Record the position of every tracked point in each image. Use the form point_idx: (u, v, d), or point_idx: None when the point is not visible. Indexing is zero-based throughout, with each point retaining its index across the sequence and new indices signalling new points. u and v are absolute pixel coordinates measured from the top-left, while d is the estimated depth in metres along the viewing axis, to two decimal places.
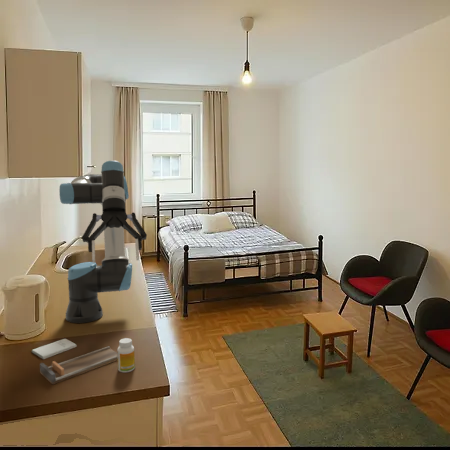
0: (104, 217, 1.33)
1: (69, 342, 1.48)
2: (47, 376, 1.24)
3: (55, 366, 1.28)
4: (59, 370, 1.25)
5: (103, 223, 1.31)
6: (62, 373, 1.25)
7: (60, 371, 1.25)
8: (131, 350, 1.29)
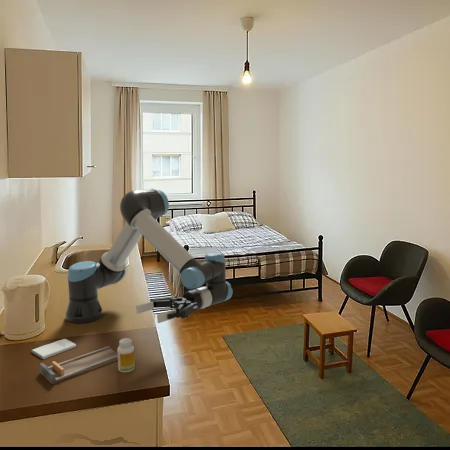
0: None
1: (69, 342, 1.48)
2: (47, 376, 1.24)
3: (55, 366, 1.28)
4: (59, 370, 1.25)
5: None
6: (62, 373, 1.25)
7: (60, 371, 1.25)
8: (131, 350, 1.29)
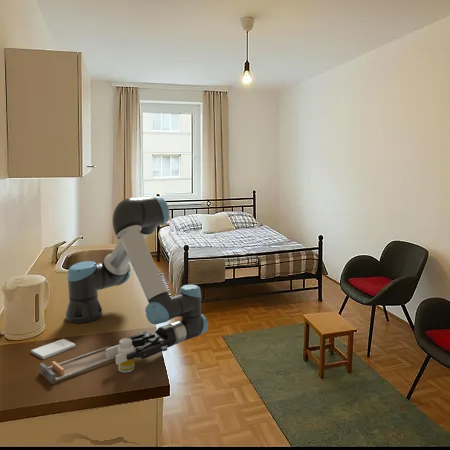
0: None
1: (68, 342, 1.48)
2: (47, 376, 1.24)
3: (55, 366, 1.28)
4: (59, 370, 1.25)
5: None
6: (62, 373, 1.25)
7: (60, 371, 1.25)
8: None
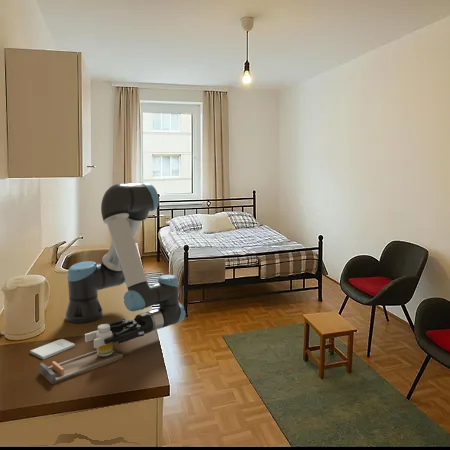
0: None
1: (67, 342, 1.48)
2: (47, 376, 1.24)
3: (55, 366, 1.28)
4: (59, 370, 1.25)
5: None
6: (62, 373, 1.25)
7: (60, 371, 1.25)
8: None
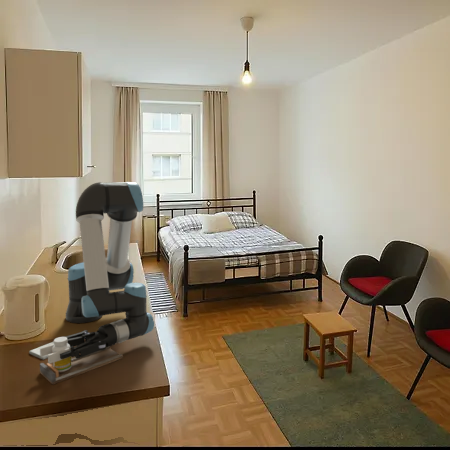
0: None
1: None
2: (47, 376, 1.24)
3: (49, 368, 1.26)
4: None
5: None
6: (56, 375, 1.23)
7: None
8: None
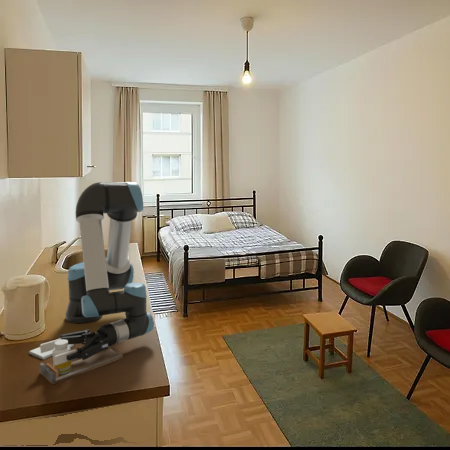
0: None
1: None
2: (47, 376, 1.24)
3: (49, 368, 1.26)
4: None
5: None
6: (56, 375, 1.23)
7: None
8: None
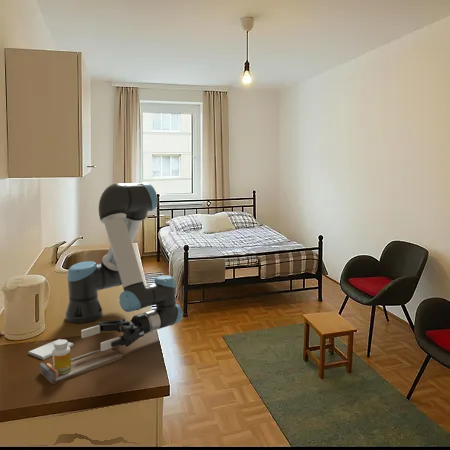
0: None
1: None
2: (47, 376, 1.24)
3: (49, 368, 1.26)
4: None
5: None
6: (56, 375, 1.23)
7: None
8: (66, 352, 1.26)
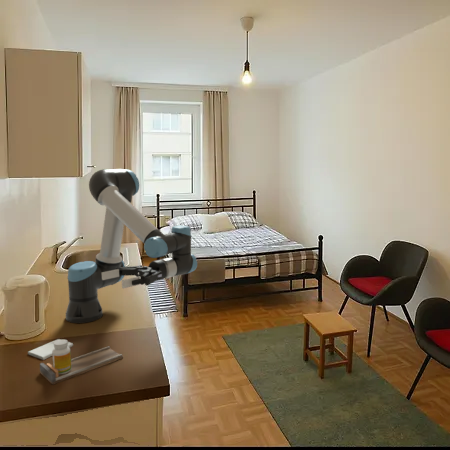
0: None
1: None
2: (47, 376, 1.24)
3: (49, 368, 1.26)
4: None
5: None
6: (56, 375, 1.23)
7: None
8: (66, 352, 1.26)
